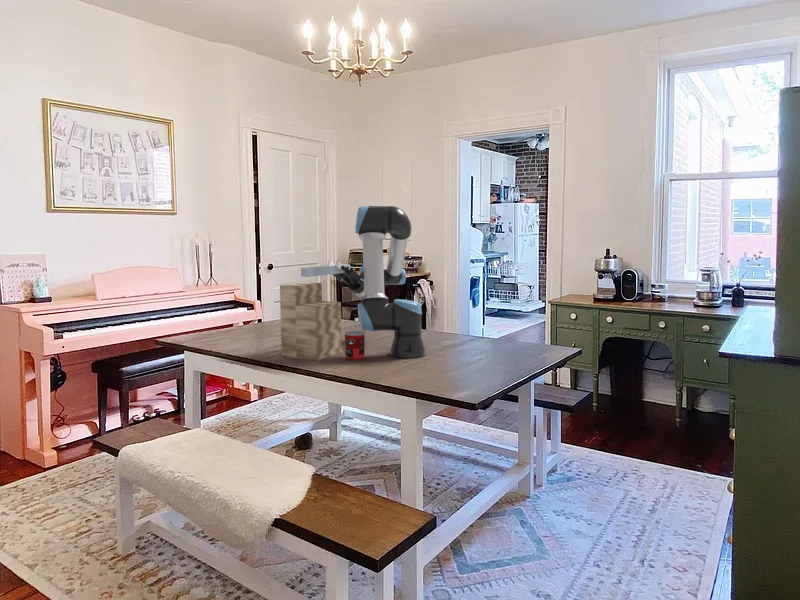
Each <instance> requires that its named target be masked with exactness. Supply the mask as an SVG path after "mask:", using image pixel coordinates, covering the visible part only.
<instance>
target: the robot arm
mask: <svg viewBox="0 0 800 600" xmlns="http://www.w3.org/2000/svg"><path fill="white" fill-rule="evenodd" d="M355 220H356V222H355V229H354V230H355V233H356V234H358V239H360V240H361V242H362V258H363V259H362V262H363V264H362V265H361V266H360V267H359V272H356V271H355V269H353V268H350V269H349V267H348V266H347V267H345V266H344V265H343V263H341V262H340V261H339V260H336V261H335V263H334V262H333V261H332V260H328V261H327V265H326V266H330V265H335V267H337V268H338V269H339V270H340V271H341V272H342V273H340V274H331V275H333V277H334V278H336V280H337V282H339V283H342V282H344V284H347V286H348V289H349V290H350V291H351V292H353V294H355V296H357V297H358V298H359V299H360V303H358V304H357V314H358V315H357V316H358V321H359V326H360V328H361V331H363V332H364V331H365V332H384V331H385V332H389V331H391V332H393V339H392V343H391V347H390V348H389V355H390V356H392V357H393V358H402V359H414V358H420V357H421V358H422V357H425V355H426V347H425V345H424V341H423V338H422V315H423V310H422V304H421V303H419V301H418V302H417V301H415V300H410V299H409V300H408V299H398V298H396V299H394V300H393V302H389V298H388V296H386V294H385V286H387V285H388V286H389V285H391V286H392V285H393V286H394V285H395V286H397V285H404V284H405V283H406V280H407V277H406V270H405V269H404V262H405V255H406V251H407V244H408V239H409V238H410V237H411V234H412V224H411V221H410V218H409V216H408V215H407V214H406V212H405V211H404V210H402V209H401V208H400V207H398V206H393V205H388V206H387V205H386V206H385V205H367V206H366V205H365V206H363V205H362V206H359V207H358V209H357V213H356V219H355ZM387 234H389V235H390V242H389V249H388V257H387V264H386V268H384V247H383V245H384V244H383V241H384V239H386V238H387ZM344 272H345V273H344Z"/></svg>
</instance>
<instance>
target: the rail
mask: <svg viewBox="0 0 800 600" xmlns="http://www.w3.org/2000/svg"><path fill="white" fill-rule="evenodd" d="M342 264H343V263H342ZM335 265H336V264H335ZM335 265H330V266H327V265H322V266H308V267H301V268H300V274H301V275H300V278H301V277H303V278H311V277H312V278H313V277H319V276H320V277H321V276H329V275H332V274H340V273H342V272H341V271H340V270H339V269H338V268H337V267H335ZM343 265H344V266H345V267H347V266H348V267H349V269H351V264H347V263H346V264H345V263H344V264H343ZM344 273H345V272H344Z"/></svg>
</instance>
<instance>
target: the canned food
mask: <svg viewBox="0 0 800 600" xmlns="http://www.w3.org/2000/svg"><path fill="white" fill-rule="evenodd" d="M365 346H366V345H365V332H364V331H363V330H349V331H345V332H344V354H345V355H344V356H345V360H347V361H353V360H355V361H363V360H364V359H365V354H366V353H365V351H366V349H365Z"/></svg>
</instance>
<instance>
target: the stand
mask: <svg viewBox="0 0 800 600" xmlns="http://www.w3.org/2000/svg"><path fill="white" fill-rule="evenodd" d="M322 285H323V283H322V282H316V281H315V282H314V281H305V282H296V283H288V284H280V285H279V299H280V300H279V302H280V303H279V304H280V305H279V306H280V309H279V310H280V341H281V342H280V343H281V344H280V345H281V346H280V347H281V357H284V356H286V357H285V358H291V357H292V359H298V358H299V359H300V360H305V359H308V360H307V361H312V360H317V361H320V360H323V359H322V358H324V359H326V358H325V357H327V358H330V357H333V356H335V354H336V355H339V354H338V353H340V354H341V353H342V351H343V350H342V304H341V301H340V302H339V301H326V300H323V286H322ZM332 355H333V356H332ZM329 356H330V357H329ZM299 359H298V360H299ZM319 359H320V360H319Z"/></svg>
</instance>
